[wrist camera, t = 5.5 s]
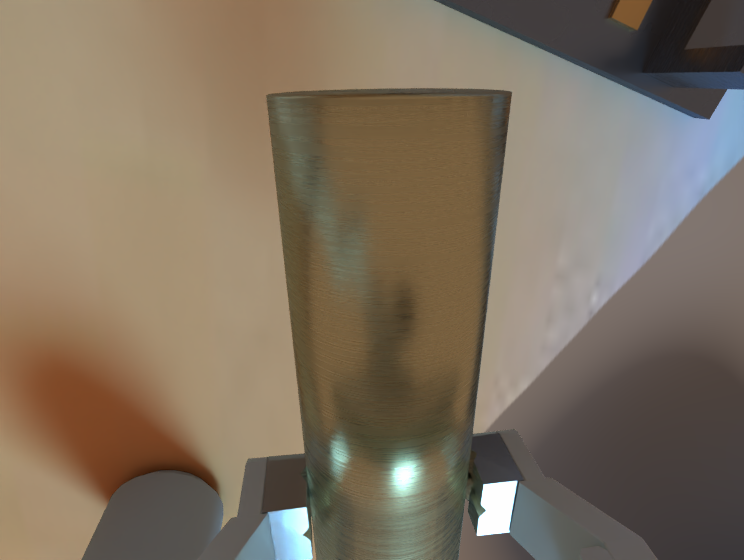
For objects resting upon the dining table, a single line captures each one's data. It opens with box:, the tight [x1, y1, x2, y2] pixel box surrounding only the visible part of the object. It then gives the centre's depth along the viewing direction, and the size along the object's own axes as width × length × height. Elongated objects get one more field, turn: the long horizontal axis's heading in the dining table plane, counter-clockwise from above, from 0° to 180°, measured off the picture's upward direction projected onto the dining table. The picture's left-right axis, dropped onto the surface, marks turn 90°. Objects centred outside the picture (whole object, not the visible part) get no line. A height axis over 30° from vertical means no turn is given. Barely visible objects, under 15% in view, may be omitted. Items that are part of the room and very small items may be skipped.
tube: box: [266, 88, 512, 560], centre depth 11 cm, size 18×4×4 cm, turn 1°
